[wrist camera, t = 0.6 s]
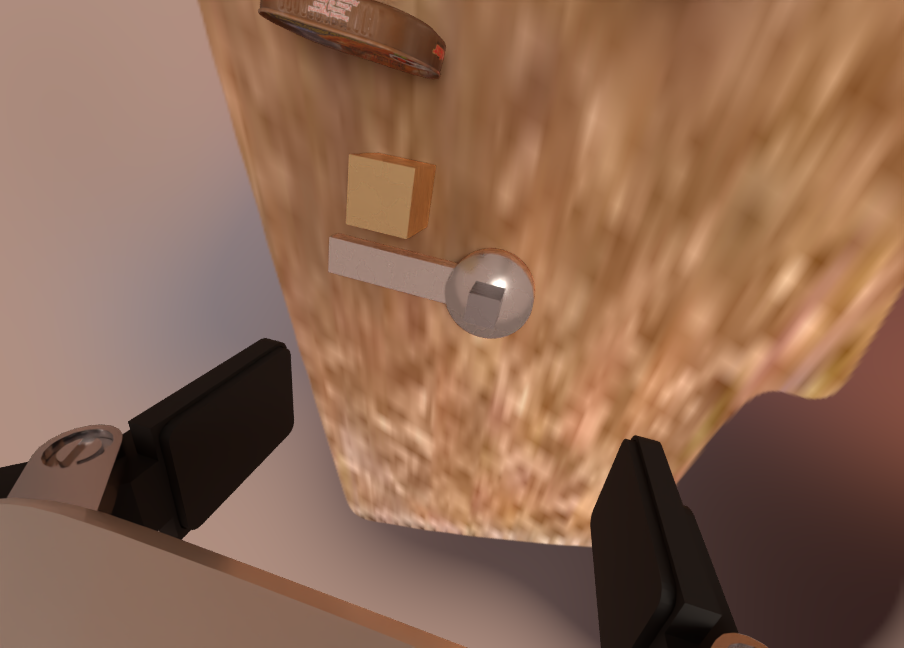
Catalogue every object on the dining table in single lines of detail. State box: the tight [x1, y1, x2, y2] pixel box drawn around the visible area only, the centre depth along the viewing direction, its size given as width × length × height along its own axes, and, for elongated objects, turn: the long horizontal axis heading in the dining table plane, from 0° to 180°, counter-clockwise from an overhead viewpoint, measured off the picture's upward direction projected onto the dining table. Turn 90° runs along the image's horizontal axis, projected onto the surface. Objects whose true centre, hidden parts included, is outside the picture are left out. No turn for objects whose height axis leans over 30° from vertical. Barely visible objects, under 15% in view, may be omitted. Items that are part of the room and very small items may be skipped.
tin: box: [258, 0, 446, 79], centre depth 30 cm, size 15×3×8 cm, turn 72°
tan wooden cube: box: [346, 153, 436, 239], centre depth 36 cm, size 6×6×6 cm
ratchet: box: [328, 233, 535, 338], centre depth 39 cm, size 9×22×6 cm, turn 78°
